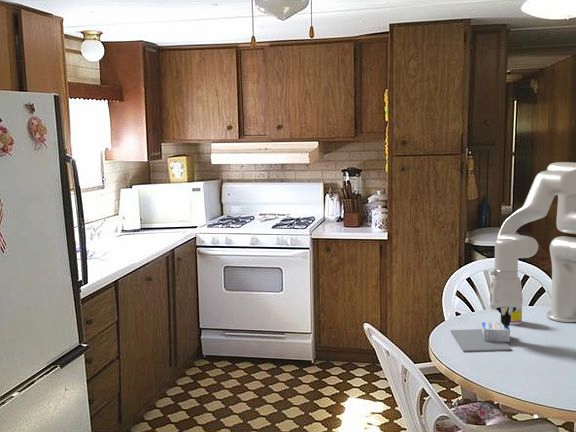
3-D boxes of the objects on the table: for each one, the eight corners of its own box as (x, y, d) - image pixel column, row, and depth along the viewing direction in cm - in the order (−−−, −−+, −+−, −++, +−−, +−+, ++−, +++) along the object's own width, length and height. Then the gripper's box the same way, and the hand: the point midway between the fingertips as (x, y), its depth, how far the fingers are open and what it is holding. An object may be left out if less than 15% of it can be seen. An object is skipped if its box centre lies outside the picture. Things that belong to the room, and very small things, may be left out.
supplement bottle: (499, 320, 236) (500, 288, 234) (515, 318, 237) (515, 286, 235) (509, 326, 230) (509, 293, 228) (525, 324, 231) (525, 291, 229)
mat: (450, 331, 227) (450, 330, 227) (494, 330, 226) (494, 328, 226) (463, 351, 207) (463, 350, 207) (511, 350, 206) (511, 348, 206)
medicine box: (510, 329, 212) (484, 329, 213) (510, 342, 212) (483, 341, 214) (506, 322, 219) (481, 321, 221) (506, 334, 220) (481, 333, 222)
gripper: (487, 277, 209) (486, 329, 212) (531, 276, 208) (531, 327, 211) (481, 272, 216) (481, 322, 219) (524, 270, 216) (523, 320, 219)
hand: (505, 324), depth 215 cm, fingers closed
